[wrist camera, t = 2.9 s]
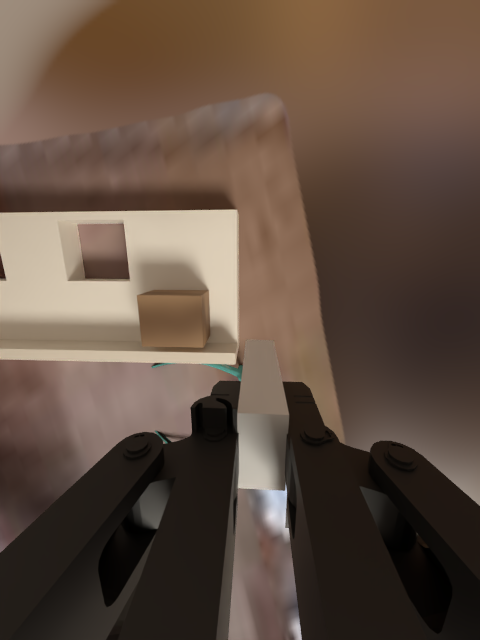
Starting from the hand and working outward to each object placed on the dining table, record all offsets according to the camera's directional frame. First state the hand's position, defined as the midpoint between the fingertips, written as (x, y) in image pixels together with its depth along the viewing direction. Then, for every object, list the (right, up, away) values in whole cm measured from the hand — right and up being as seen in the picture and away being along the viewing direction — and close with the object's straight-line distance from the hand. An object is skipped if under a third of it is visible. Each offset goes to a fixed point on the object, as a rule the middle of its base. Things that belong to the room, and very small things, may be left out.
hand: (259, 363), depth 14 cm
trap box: (-21, +7, +17) cm, 28 cm away
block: (-7, +3, +14) cm, 16 cm away
